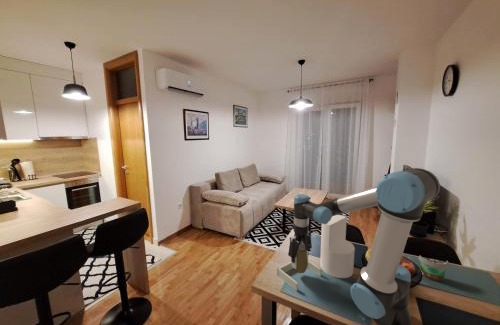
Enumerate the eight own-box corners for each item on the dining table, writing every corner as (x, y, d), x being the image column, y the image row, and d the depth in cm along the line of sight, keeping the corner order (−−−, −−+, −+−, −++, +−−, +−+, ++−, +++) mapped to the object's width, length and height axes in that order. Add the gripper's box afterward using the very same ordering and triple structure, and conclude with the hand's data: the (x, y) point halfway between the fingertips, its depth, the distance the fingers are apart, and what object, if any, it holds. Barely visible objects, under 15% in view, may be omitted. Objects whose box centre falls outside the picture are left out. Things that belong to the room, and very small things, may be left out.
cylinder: (314, 266, 119) (315, 220, 115) (330, 254, 129) (332, 212, 125) (342, 283, 105) (345, 231, 101) (359, 269, 116) (362, 221, 112)
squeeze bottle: (308, 276, 106) (309, 243, 103) (292, 274, 108) (292, 242, 105) (307, 265, 114) (308, 235, 111) (292, 264, 116) (292, 234, 113)
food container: (420, 279, 107) (422, 261, 106) (416, 271, 113) (418, 254, 111) (451, 286, 102) (454, 267, 101) (446, 278, 108) (448, 260, 106)
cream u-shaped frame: (321, 275, 111) (321, 268, 110) (296, 291, 101) (296, 283, 100) (301, 262, 123) (301, 256, 122) (277, 275, 112) (277, 268, 112)
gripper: (308, 217, 116) (307, 254, 119) (280, 226, 104) (280, 268, 108) (320, 221, 109) (318, 261, 113) (291, 232, 98) (290, 276, 101)
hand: (300, 264), depth 110 cm, fingers closed on squeeze bottle, 8 cm apart
